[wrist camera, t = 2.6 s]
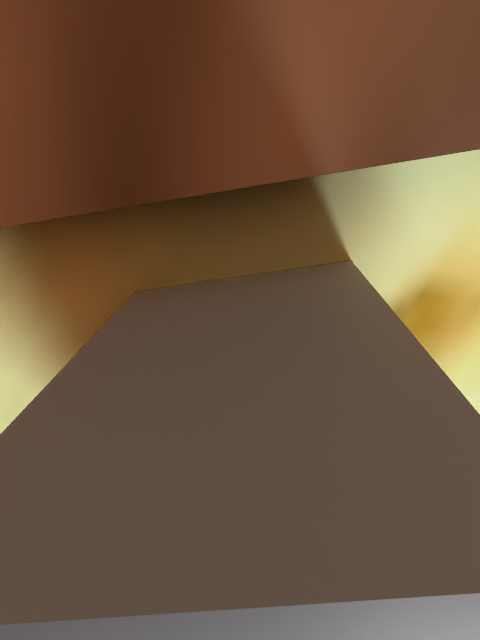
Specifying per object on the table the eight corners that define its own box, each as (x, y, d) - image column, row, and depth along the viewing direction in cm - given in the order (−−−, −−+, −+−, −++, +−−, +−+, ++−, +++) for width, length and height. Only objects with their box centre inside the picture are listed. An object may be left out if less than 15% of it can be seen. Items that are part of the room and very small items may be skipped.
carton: (193, 521, 13) (94, 1041, 5) (135, 291, 10) (-193, 637, 3) (377, 505, 12) (555, 1056, 5) (360, 259, 10) (660, 582, 2)
